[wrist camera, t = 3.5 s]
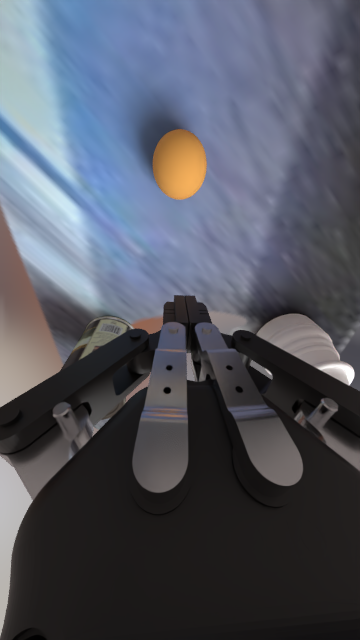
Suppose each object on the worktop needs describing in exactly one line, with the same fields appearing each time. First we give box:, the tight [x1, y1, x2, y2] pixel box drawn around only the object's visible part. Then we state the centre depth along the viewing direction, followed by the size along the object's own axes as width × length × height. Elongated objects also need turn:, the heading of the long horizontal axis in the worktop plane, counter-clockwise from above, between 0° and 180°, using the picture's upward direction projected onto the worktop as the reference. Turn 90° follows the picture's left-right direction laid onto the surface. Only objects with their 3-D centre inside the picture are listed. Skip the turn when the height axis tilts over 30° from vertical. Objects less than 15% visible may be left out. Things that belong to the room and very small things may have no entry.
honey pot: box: [256, 314, 354, 386], centre depth 32 cm, size 13×13×18 cm
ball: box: [153, 129, 207, 200], centre depth 21 cm, size 6×6×6 cm
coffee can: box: [60, 316, 134, 420], centre depth 31 cm, size 10×10×14 cm
